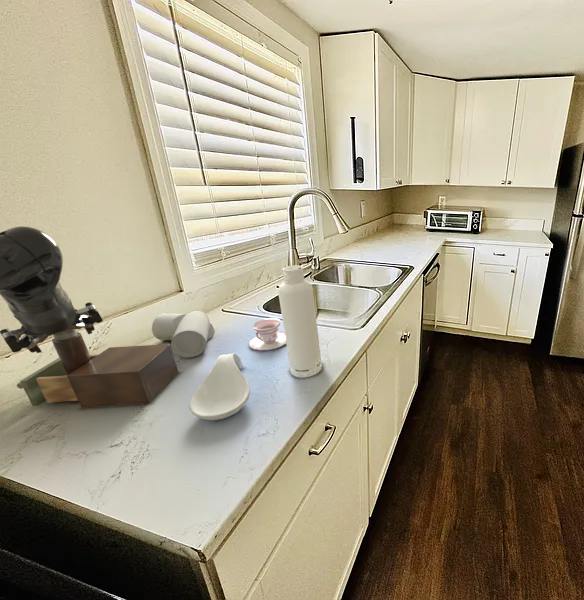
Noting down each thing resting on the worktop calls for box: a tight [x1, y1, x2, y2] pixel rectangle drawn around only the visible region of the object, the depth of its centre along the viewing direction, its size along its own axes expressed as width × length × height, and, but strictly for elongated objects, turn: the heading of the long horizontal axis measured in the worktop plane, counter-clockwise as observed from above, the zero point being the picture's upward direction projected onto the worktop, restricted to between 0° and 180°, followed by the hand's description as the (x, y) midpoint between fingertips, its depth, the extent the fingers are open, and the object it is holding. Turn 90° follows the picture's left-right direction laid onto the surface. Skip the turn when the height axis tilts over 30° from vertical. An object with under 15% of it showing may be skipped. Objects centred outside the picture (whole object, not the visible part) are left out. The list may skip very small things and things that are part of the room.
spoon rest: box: [188, 352, 251, 421], centre depth 76 cm, size 24×12×7 cm, turn 21°
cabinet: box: [67, 343, 180, 409], centre depth 78 cm, size 15×13×9 cm
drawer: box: [16, 353, 100, 407], centre depth 77 cm, size 18×11×7 cm, turn 96°
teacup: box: [248, 317, 286, 352], centre depth 101 cm, size 12×12×6 cm
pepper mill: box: [51, 329, 91, 375], centre depth 76 cm, size 5×5×16 cm
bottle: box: [277, 264, 323, 379], centre depth 82 cm, size 8×8×28 cm
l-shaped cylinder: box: [151, 310, 215, 358], centre depth 99 cm, size 18×11×20 cm
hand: (63, 339), depth 72 cm, fingers open, 8 cm apart
